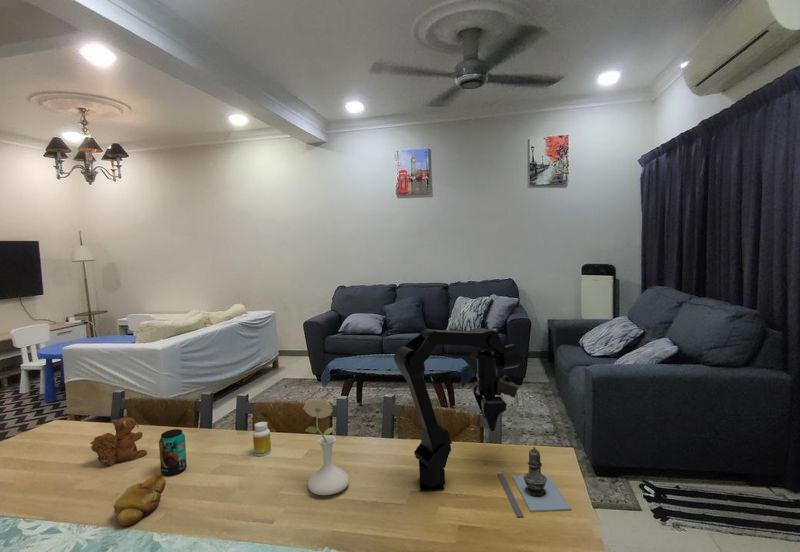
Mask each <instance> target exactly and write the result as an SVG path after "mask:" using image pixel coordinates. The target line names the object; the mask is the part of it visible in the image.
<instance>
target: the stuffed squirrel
mask: <svg viewBox="0 0 800 552" xmlns="http://www.w3.org/2000/svg"><path fill="white" fill-rule="evenodd" d="M111 422H112V424H113V426H114V429H115V434H112V433H111V432H107V433H106V432H105V433H103V434H102V435H98V436H96V437H94V438H93V440H92V441H91V442H89V444H91V446H90V448H91V450H92V452H93V453H94V452H95V453H96V454H97V461H99V463H100V464H102V465H104V466H108V467H112V466H113V465H115V464H117V463H119V462H121V463H123V462H129V461H134V459H135V460H136V459H140V458H142V457H145V456H147V453H148V451H147V450H145V449H140V450H138V448H137V444H136V442H137V441H139V440H141V439H142V438H143V432H141V431H137V432H133V430H134V429H135V427H137V428H139V427H140V425H138V423H137V422H136V420H135V419H134V418H132V417H127V416H126V417H121V418H119V419H113V420H112V421H111Z"/></svg>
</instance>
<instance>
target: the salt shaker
mask: <svg viewBox="0 0 800 552" xmlns="http://www.w3.org/2000/svg"><path fill="white" fill-rule="evenodd" d="M527 465H528V472H527V473H525V474H524V475H522V476H523V477H524V480H525V483H526V485H527V486H528V487H526V488H525V492H526V493H527V494H528V495H530V496H533V497H543V496H545V495H546V491H545V489H544V487H545V484H546V482H547V478H546V477H545V476H544V475H545V474H542V468H541V467H543V463H542V462H541V453H540V451H539V450H537V448H536V447H535V446H533V447H532V448H531V449H529V451H528V462H527Z"/></svg>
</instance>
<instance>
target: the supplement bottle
mask: <svg viewBox="0 0 800 552" xmlns="http://www.w3.org/2000/svg"><path fill="white" fill-rule="evenodd" d="M252 437H253V438H252V441H253V442H252V443H253V454H254V455H255V456H257V457H264V456H267V455H269V454H270V453H271V451H272V447H271V446H272V445H271V444H272V441H271V430H270V429H269V428H268V422H267V421H258V422H256V423H254V430H253V432H252Z"/></svg>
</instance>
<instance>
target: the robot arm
mask: <svg viewBox="0 0 800 552" xmlns="http://www.w3.org/2000/svg"><path fill="white" fill-rule="evenodd" d="M500 338H501V337H500V335H499V333H498V332H497V331H496V330H493V329H492V330H491V329H488V328H483V327H478V328H477V327H476V328H472V329H468V330H465V331H464V330H444V329H442V330H441V329H430V328H425V329H424V330H422V331H421V332H420V333H419V334H418V335H416V336H415V337H413V338H412V339H410V340H409V341H407V342H406V343H405V344H404V345H403V346H400V347H399V348H397V350H395V353H394V355H393V360H394V363H395V365H396V367H397V369H398V370H399V373H400V374H401V375H402V376H403V377H404V379H405V381H406V382H407V385H408V389H409V392H410V395H411V397H412V402H413V404H414V407H415V410H416V414H417V416H418V420H419V422H420V426H421V429H420V430H421V432H420V443H419V445H418V446H417V447H416V449H415V450H414V452H413V454H414V456H415V458H416V459H417V460H418V471H419V472H418V474H419V477H418V483H419V491H420V492H433V491H435V492H437V491H444V490H445V486H444V485H446V470H445V468H446V466H447V462H448V459H449V456H450V453H451V452H452V444H453V442H452V441H451V438H450V433H449V432H450V431H449V430H448V429H447V428H446V427H444V426H443V425H441V424H439V423H438V419H437V417H436V413H435V411H434V406H433V403H432V401H431V398H430V394H429V391H428V388H427V385H426V381H425V377H424V376H425V371H426V366H425V362H426V361H427V360H428V359H429V358H430V357H431V354H432V353H433V351H434V348H435V347H436V346H438V345H439V346H467V347H468V346H471V347H476V348H475V350H474V351H473V352H472V353H470V355H469V357H470V358H472V359H475V360H476V371H477V373H475V377H476V379H477V381H474V382H473V383H472V384H471V391H472V393H473V396H474V398H475V401H476V403H477V405H478V408H479V410H480V413H481V415H482V417H483V419H484V420H485V421H486V423H487V425H488V428H489V431H491V432H495V430H496V426H497V422H498V418H499V415H500V414H501V413H504V412H506V411H507V403H506V401H505V400H504V398H502V397H501V396H502V394H504V395H507V396H510V397H511V398H516V396H517V393H518V390H519V386H518V385H517V384H516V382H513V381H511V377H509V376H508V375H503V376H502V377H500V376H499V375H498V369H499V370H502V371H503V370H507V369H513V368H518V367H519V366H520V365H521V363H522V356H521V354H520V352H519V350H518V349H517V345H516V344H512V343H511V344H507V345H504V343H503V342H502V340H501V339H500ZM477 348H479V349H477ZM480 349H482V350H480Z"/></svg>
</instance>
